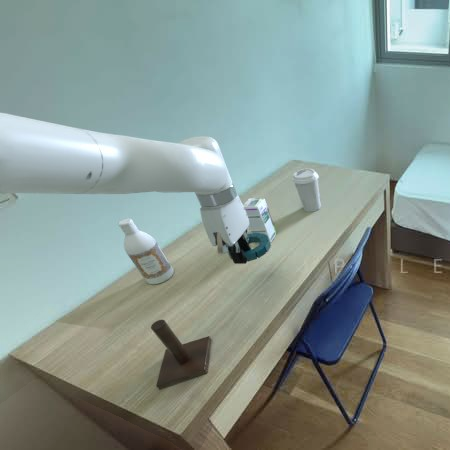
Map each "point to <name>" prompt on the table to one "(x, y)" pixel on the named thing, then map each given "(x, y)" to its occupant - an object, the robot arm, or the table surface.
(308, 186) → the coffee cup
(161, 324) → the stand
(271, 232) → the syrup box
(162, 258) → the bath foam
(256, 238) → the ring
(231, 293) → the table surface
